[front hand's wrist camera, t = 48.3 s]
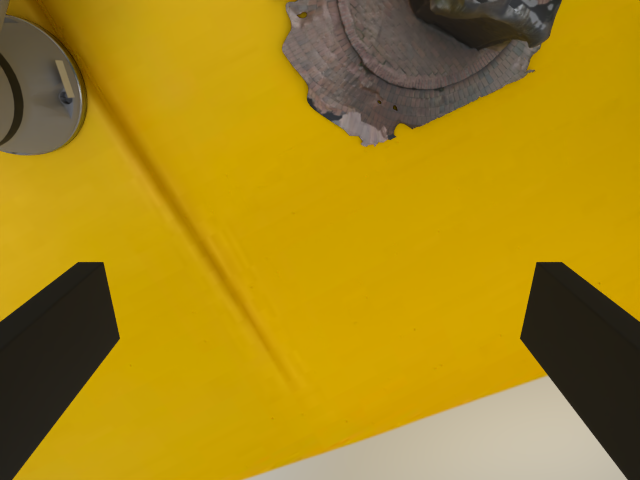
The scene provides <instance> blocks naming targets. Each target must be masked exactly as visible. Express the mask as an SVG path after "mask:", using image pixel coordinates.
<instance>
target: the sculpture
mask: <svg viewBox="0 0 640 480" xmlns="http://www.w3.org/2000/svg"><path fill="white" fill-rule="evenodd" d="M561 1H562V0H298V1H296V2H288V3H287V4H286V11H287V13H288V15H289V18H290V20H291V25H292V28H291V31H290V33H289V35H288V36H287V38H286V40H285V42H284V44H283V47H282V50H283V53H284V54H285V56H286V57H287V58H288V60H289V61H290V63H291V64H292V65H293V67H294V68H295V69H296V70H297V71H298V72H299V74H300V75H301V76H302V77H303V79H304V80H305V81H306V83H307V84H308V87H309V91H308V96H307V101H308V103H309V104H310V106H311V107H312V108H313V109H314V110H316V111H317V112H318V113H320V114H321V115H323V116H324V117H326V118H327V119H329V120H330V121H332V122H333V123H335V124H336V125H338V126H340V127H341V128H343V129H344V130H345V131H346V132H347V133H348V134H349V136H359V137H360V138H361V140H362V141H363V142H362V143H361V144H362V145H363V146H368V145H370V144H374V146H376V144H378V142H384V141H386V140H387V139H388V140H391V139H393V138H395V137H396V136H394V129H395V127H396V126H397V125H398V124H399V123H403V124H406V125H407V126H409V127H410V128H411V129H413V128H415V127H418V126H419V127H420V126H422V125H425V124H426V123H429V122H430V121H432V120H434V119H436V118H437V117H438V118H440V117H442V116H443V115H445V114H447V113H450V112H452V111H453V110H456V109H457V108H460V107H462V106H464V105H466V104H469V102H472V101H475V100H477V99H478V98H479V96H480V97H483V96H485V95H488V94H489V93H492V92H494V91H496V90H497V89H500V88H502V87H503V86H505V85H506V84H508V83H512V82H514V81H517V80H519V79H521V78H524V76H526V74H527V73H530V72H533V71H535V70H527V67H528V65H529V62H530V58H531V57H532V55H533V54H535V53H536V52H537V51H538V50H539V49H540V47H541V43H543V42H544V41H545V40H547V39H548V38H549V36H550V33H551V28H552V26H553V22H554V19H555V16H556V13H557V11H558V9H559V6H560V4H561ZM289 7H290V8H289ZM302 12H306V13H307V16H306V17H305V18H299V17H297V15H298V14H301V13H302ZM524 58H525V59H524ZM526 70H527V71H526ZM378 100H379V101H381V104H379V103H378V102H377V101H378ZM394 105H396V107H397V109H398V111H396V110H394V109H393V106H394Z"/></svg>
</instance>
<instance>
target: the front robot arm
mask: <svg viewBox="0 0 640 480" xmlns="http://www.w3.org/2000/svg"><path fill="white" fill-rule="evenodd" d="M8 4H9V0H0V151H3V152H6V153H11V154H17V155H39V154H44V153H48V152H52V151H55V150H58V149H60V148H62V147H64V146H65V145H67V144H68V143H69V142H71V141H72V140H73V139H74V138H75V136H76V135H77V134H78V132H79V131H80V129H81V127H82V125H83V122H84V119H85V115H86V109H87V96H86V89H85V84H84V81H83V77H82V75H81V72H80V70H79V68H78V66H77V64H76V62H75V61H74V59H73V57H72V56H71V54H70V53H69V52H68V50H67V49H66V48H65V47H64V45H63V44H62V43H61V42H60V41H59V40H58V39H57V38H55V37H54V36H53V35H52V34H51V33H49V32H48V31H47V30H45V29H44V28H42V27H41V26H39V25H37V24H35V23H33V22H31V21H28V20H26V19H23V18H19V17H15V16H10V15H6V11H7V8H8ZM119 339H120V337H119V332H118V327H117V323H116V318H115V314H114V309H113V304H112V300H111V295H110V291H109V286H108V281H107V277H106V272H105V268H104V263H103V262H78V263H76V264H75V265H74V266H72V267H71V268H70V269H69V270H67V271H66V272H65V273H63V274H62V275H61V276H59V277H58V278H57V279H56V280H54V281H53V282H52V283H50V284H49V285H48V286H46V287H45V288H44V289H43V290H41V291H40V292H39V293H37V294H36V295H35V296H33V297H32V298H31V299H30V300H28V301H27V302H26V303H24V304H23V305H22V306H20V307H19V308H18V309H17V310H15V311H14V312H13V313H11V314H10V315H9V316H7V317H6V318H5V319H4V320H2V321H1V322H0V480H12V479H13V478H14V477H15V475H16V474H17V473H18V471H19V470H20V469H21V468H22V466H23V465H24V464H25V462H26V461H27V460H28V458H29V457H30V456H31V454H32V453H33V452H34V450H35V449H36V448H37V447H38V445H39V444H40V443H41V441H42V440H43V439H44V437H45V436H46V435H47V433H48V432H49V431H50V430H51V428H52V427H53V426H54V424H55V423H56V422H57V420H58V419H59V418H60V416H61V415H62V414H63V412H64V411H65V410H66V409H67V407H68V406H69V405H70V403H71V402H72V401H73V399H74V398H75V397H76V395H77V394H78V393H79V392H80V390H81V389H82V388H83V386H84V385H85V384H86V382H87V381H88V380H89V378H90V377H91V376H92V374H93V373H94V372H95V371H96V369H97V368H98V367H99V365H100V364H101V363H102V361H103V360H104V359H105V357H106V356H107V355H108V353H109V352H110V351H111V350H112V348H113V347H114V346H115V344H116V343H117V342H118V340H119ZM520 339H521V340H522V342H523V343H524V344H525V346H526V347H527V348H528V350H529V351H530V352H531V353H532V355H533V356H534V357H535V359H536V360H537V361H538V363H539V364H540V365H541V367H542V368H543V369H544V371H545V372H546V373H547V374H548V376H549V377H550V378H551V380H552V381H553V382H554V384H555V385H556V386H557V388H558V389H559V390H560V392H561V393H562V394H563V395H564V397H565V398H566V399H567V401H568V402H569V403H570V405H571V406H572V407H573V409H574V410H575V411H576V412H577V414H578V415H579V416H580V418H581V419H582V420H583V422H584V423H585V424H586V426H587V427H588V428H589V430H590V431H591V432H592V433H593V435H594V436H595V437H596V439H597V440H598V441H599V443H600V444H601V445H602V447H603V448H604V449H605V450H606V452H607V453H608V454H609V456H610V457H611V458H612V460H613V461H614V462H615V464H616V465H617V466H618V467H619V469H620V470H621V471H622V473H623V474H624V475H625V477H626V478H627V479H628V480H640V322H639V321H638V320H636V319H635V318H634V317H633V316H631V315H630V314H629V313H627V312H626V311H625V310H623V309H622V308H621V307H620V306H618V305H617V304H616V303H614V302H613V301H612V300H610V299H609V298H608V297H607V296H605V295H604V294H603V293H601V292H600V291H599V290H597V289H596V288H595V287H594V286H592V285H591V284H590V283H588V282H587V281H586V280H584V279H583V278H582V277H581V276H579V275H578V274H577V273H575V272H574V271H573V270H571V269H570V268H569V267H568V266H566V265H565V264H564V263H562V262H537V263H536V268H535V272H534V277H533V281H532V286H531V291H530V295H529V300H528V304H527V309H526V314H525V318H524V323H523V327H522V332H521V337H520Z"/></svg>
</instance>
